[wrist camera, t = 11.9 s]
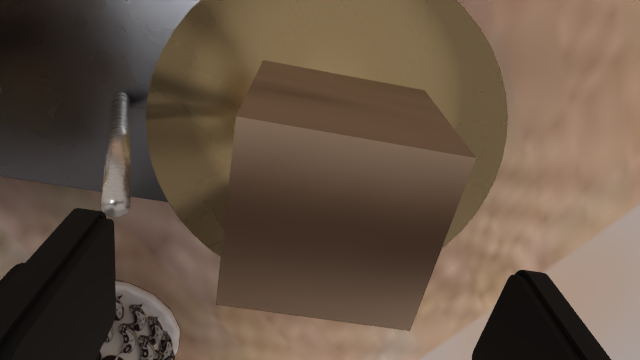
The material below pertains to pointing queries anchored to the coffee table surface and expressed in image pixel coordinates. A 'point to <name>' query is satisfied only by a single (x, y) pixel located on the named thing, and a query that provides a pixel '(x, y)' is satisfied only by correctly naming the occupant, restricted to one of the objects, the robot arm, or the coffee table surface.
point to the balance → (217, 88)
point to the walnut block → (338, 197)
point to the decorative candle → (140, 327)
